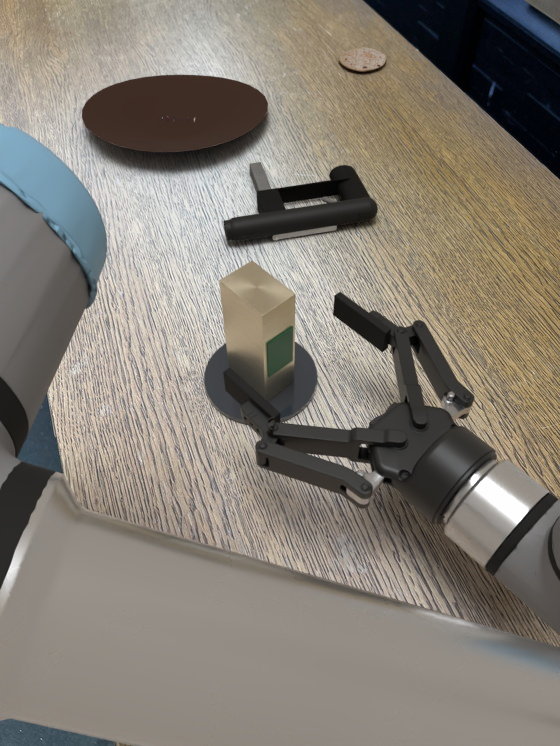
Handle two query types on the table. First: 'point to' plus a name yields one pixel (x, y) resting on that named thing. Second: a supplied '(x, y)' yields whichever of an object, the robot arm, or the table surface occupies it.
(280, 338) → the tea tin
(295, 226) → the door handle
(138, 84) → the plate
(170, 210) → the table surface
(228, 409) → the coaster
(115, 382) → the table surface
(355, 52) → the flatbread
